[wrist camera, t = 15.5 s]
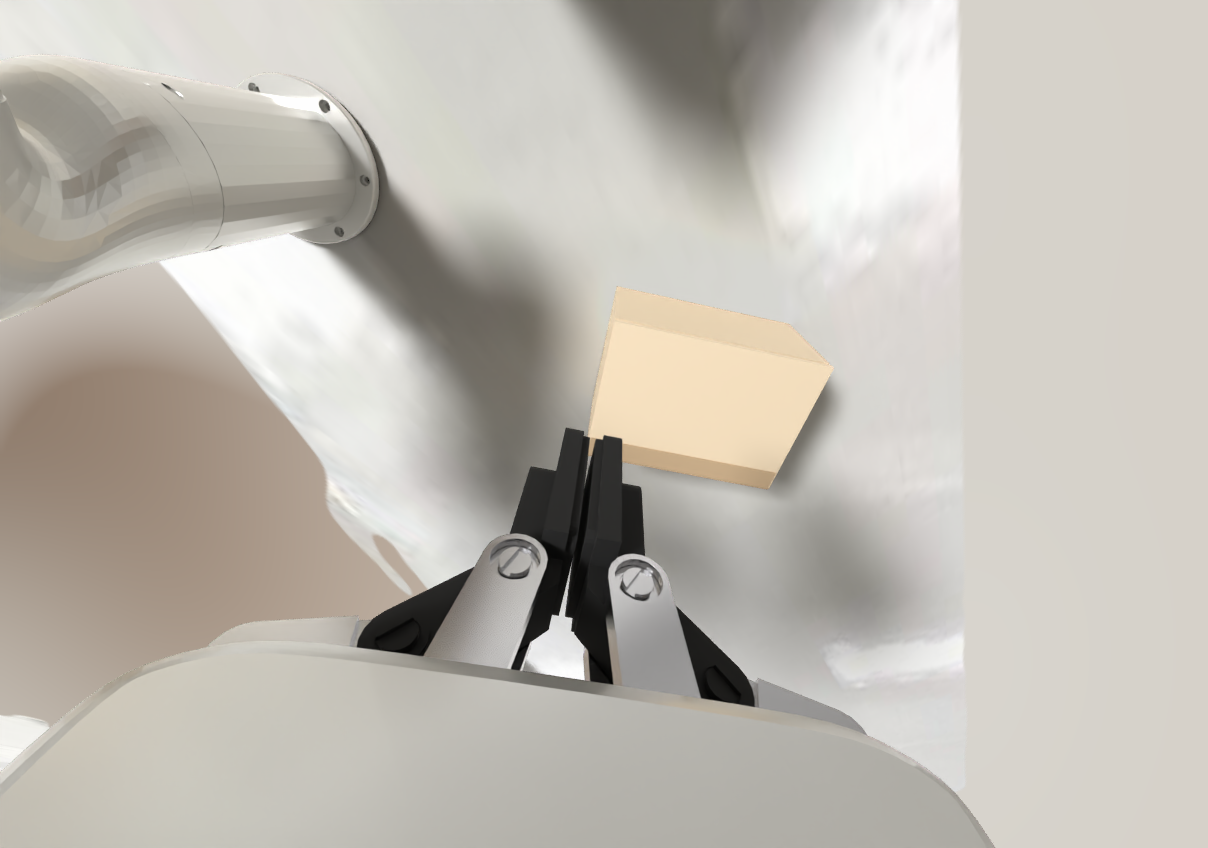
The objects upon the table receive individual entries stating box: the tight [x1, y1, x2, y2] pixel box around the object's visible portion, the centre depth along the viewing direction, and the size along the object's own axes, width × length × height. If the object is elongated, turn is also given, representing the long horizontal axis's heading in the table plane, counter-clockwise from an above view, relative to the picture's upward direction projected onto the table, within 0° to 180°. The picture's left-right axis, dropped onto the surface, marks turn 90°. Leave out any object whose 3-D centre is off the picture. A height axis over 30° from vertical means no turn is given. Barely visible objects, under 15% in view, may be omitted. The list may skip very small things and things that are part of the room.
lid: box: [588, 320, 834, 489], centre depth 37 cm, size 18×13×1 cm
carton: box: [588, 286, 829, 437], centre depth 42 cm, size 18×13×10 cm
